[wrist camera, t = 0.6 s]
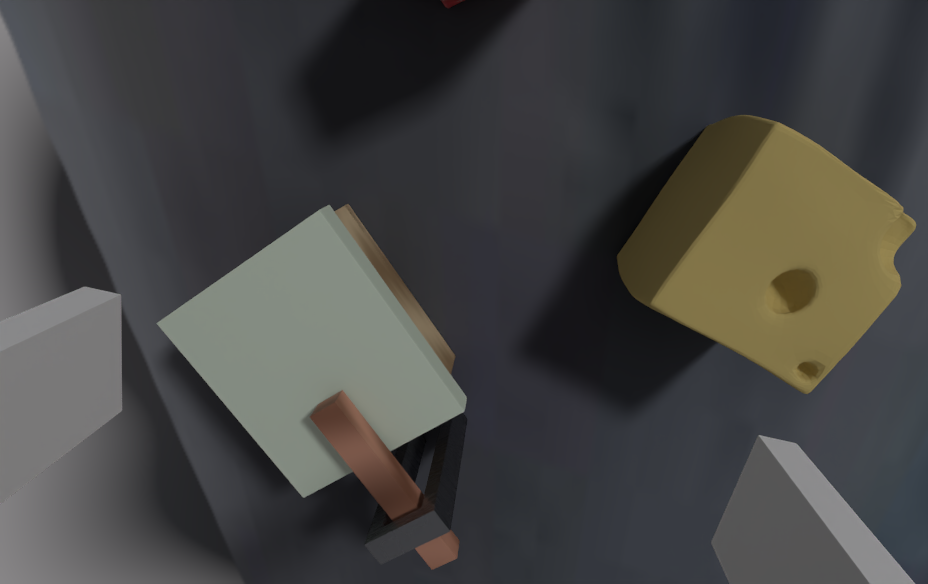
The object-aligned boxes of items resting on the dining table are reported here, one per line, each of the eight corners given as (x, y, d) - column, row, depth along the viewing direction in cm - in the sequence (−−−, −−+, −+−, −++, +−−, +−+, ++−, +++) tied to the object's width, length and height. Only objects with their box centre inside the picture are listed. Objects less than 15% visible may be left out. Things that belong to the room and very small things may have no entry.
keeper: (403, 431, 42) (364, 544, 31) (455, 402, 41) (433, 510, 30) (415, 446, 42) (380, 564, 31) (467, 419, 41) (450, 531, 30)
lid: (182, 307, 34) (156, 323, 31) (335, 201, 31) (319, 209, 28) (317, 471, 36) (303, 498, 34) (468, 389, 34) (464, 411, 31)
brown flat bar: (318, 404, 31) (309, 417, 30) (342, 389, 31) (335, 402, 30) (435, 551, 34) (431, 569, 33) (459, 540, 34) (457, 558, 32)
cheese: (844, 198, 34) (971, 231, 25) (733, 335, 37) (807, 411, 28) (704, 111, 33) (779, 111, 24) (603, 260, 37) (634, 311, 27)
